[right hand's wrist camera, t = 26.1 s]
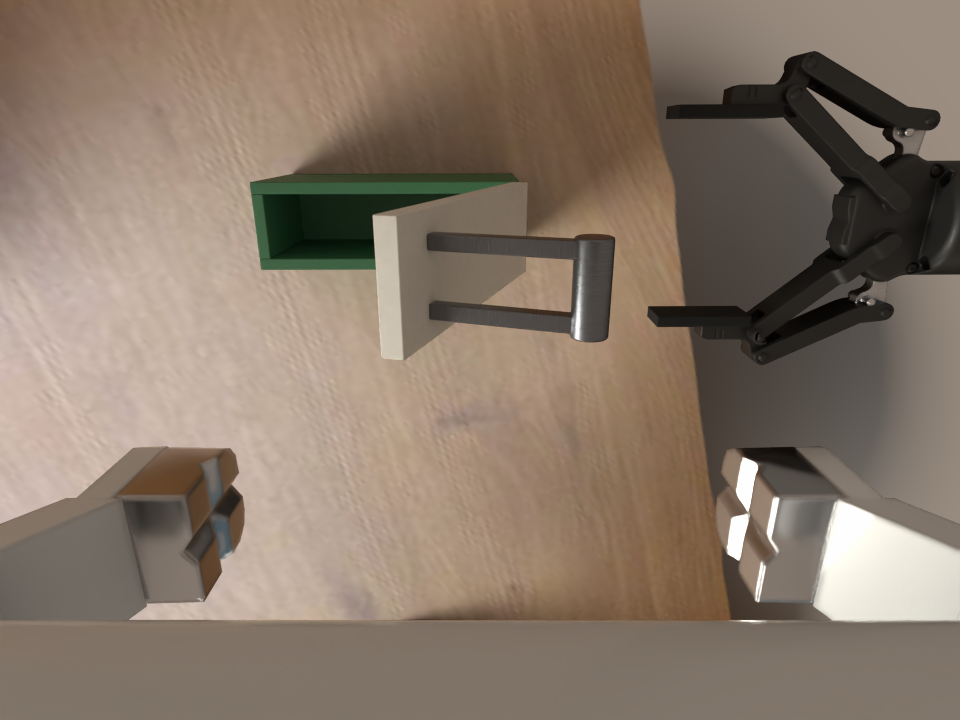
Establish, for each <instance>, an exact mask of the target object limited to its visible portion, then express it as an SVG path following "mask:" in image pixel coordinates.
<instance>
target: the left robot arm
mask: <svg viewBox="0 0 960 720" xmlns="http://www.w3.org/2000/svg"><path fill="white" fill-rule="evenodd" d="M807 87H808V88H809V89H811V90H813V91H814V92H816V93H818V94H819V95H821V96H823V97H824V98H826V99H828V100H829V101H831V102H833V103H834V104H836V105H838V106H839V107H841V108H843V109H845V110H846V111H848V112H850V113H851V114H853V115H855V116H856V117H858V118H860V119H861V120H863V121H865V122H866V123H868V124H870V125H872V126H875V127H879V128H884V130H883V136H884V137H885V139H886V140H887V141H889V142H891V143H893V144H894V147H895V152H894V154H891V155H889V156H887V157H885V158H884V159H883V160H881V161H879V162H878V161H877V160H876V159H875V158H873V157H871V156H869V155H867V154H866V153H865V152H864V151H863V150H862V149H861V148H860V147H859V146H858V144H857V143H856V142H855V141H854V140H853V139H852V138H851V137H850V136H849V135H848V134H847V132H846V131H845V130H844V129H843V128H842V127H841V126H840V125H839V124H838V123H837V122H836V121H835V119H834V118H833V117H832V116H831V115H830V114H829V113H828V112H827V111H826V110H825V109H824V107H823V106H822V105H821V104H820V103H819V102H818V101H817V100H816V99H815V98H814V97H813V95H812V94H811V93H810V92H809V91H808V90H807V89H806V88H807ZM779 117H784V118H785V119H786V120H787V122H788V123H789V124H790V125H791V126H792V127H793V128H794V129H795V130H796V131H797V132H798V133H799V134H800V135H801V136H802V137H803V138H804V140H805V141H806V142H807V143H808V144H809V145H810V146H811V147H812V148H813V149H814V150H815V151H816V152H817V153H818V154H819V155H820V156H821V157H822V159H823V160H824V161H825V162H826V163H827V164H828V165H829V166H830V167H831V172H832V173H833V174H834V175H835V176H836V177H837V178H838V179H839V180H840V181H841V182H842V184H843V185H844V186H843V187H842V189H841V190H840V192H839V194H835V195H834V199H833V204H832V210H833V219H832V221H831V223H830V225H829V227H828V230H827V235H826V240H828V241H829V244H830V248H829V249H827V250H826V251H825V252H823V253H822V254H820V255H819V256H818V257H816V258H815V259H814V261H813V264H812V265H811V266H810V267H808V268H807V269H806V270H804V271H803V272H801V273H800V274H799V275H797V276H796V277H794V278H793V279H792V280H790V281H789V282H788V283H786V284H785V285H783V286H782V287H781V288H779V289H778V290H777V291H775V292H774V293H773V294H771V295H770V296H768V297H767V298H766V299H764V300H763V301H762V302H760V303H759V304H757V305H756V306H755V307H753V308H752V309H751V310H749V311H748V312H745V311H743V310H742V309H740V308H739V307H737V306H648V315H647V316H648V317H649V318H650V320H651V321H652V322H653V323H654V324H655V325H656V326H657V327H695V328H694V331H695V332H696V333H697V334H698V335H699V336H700V337H703V338H705V339H741V341H742V345H741V350H742V351H743V353H745V354H746V355H747V356H748V357H750V358H751V359H752V360H753V361H755V362H756V363H757V364H759V365H764V364H767V363H769V362H771V361H774V360H776V359H778V358H781V357H783V356H785V355H787V354H790V353H792V352H794V351H797V350H799V349H801V348H804V347H806V346H808V345H810V344H813V343H815V342H817V341H820V340H822V339H824V338H826V337H829V336H831V335H833V334H836V333H838V332H840V331H842V330H845V329H847V328H849V327H852V326H854V325H856V324H859V323H863V322H873V321H882V320H887V319H889V318H890V317H891V316H892V315H893V312H894V308H893V306H892V305H890V304H888V303H886V295H887V286H888V281H889V280H891V279H893V278H895V277H898V276H901V275H935V274H936V275H937V274H960V161H926V160H924V159H922V158H921V157H919V156H918V153H919V150H920V147H921V144H922V141H923V138H924V135H925V132H926V130H932V129H934V128H935V127H936V126H937V125H938V124H939V122H940V114H939V112H938V111H936V110H930V109H922V108H914V107H908V106H906V105H904V104H903V103H901V102H899V101H898V100H896V99H894V98H893V97H891V96H890V95H888V94H886V93H885V92H883V91H881V90H880V89H878V88H876V87H875V86H873V85H871V84H870V83H868V82H867V81H865V80H863V79H862V78H860V77H858V76H857V75H855V74H853V73H852V72H850V71H848V70H847V69H845V68H844V67H842V66H840V65H839V64H837V63H835V62H834V61H832V60H830V59H829V58H827V57H825V56H824V55H822V54H821V53H819V52H816V51H813V52H808V53H804V54H801V55H797V56H793V57H791V58H789V59H788V60H787V61H786V62H785V65H784V73H783V75H782V77H781V79H780V80H779V81H778V83H776V84H775V85H737V86H733V87H730V88H727V89H725V90H724V95H723V103H722V104H721V105H720V104H718V105H717V104H716V105H675V106H669V107H667V114H666V119H751V118H752V119H755V118H779ZM843 260H844V261H843ZM842 261H843V262H842ZM858 275H862V276H863V277H865V278H866V282H865V284H864V285H863V286H862V287H861V288H858V289H855V290H852V291H850V292H849V293H848V297H846V298H841V299H838V300H835V301H832V302H829V303H827V304H825V305H823V306H820V307H818V308H816V309H814V310H811V311H809V312H807V313H805V314H803V315H800V316H798V317H796V318H794V319H792V318H793V317H794V316H796V315H797V314H799V313H800V312H801V311H803V310H804V309H806V308H807V307H808V306H810V305H811V304H813V303H814V302H815V301H817V300H818V299H820V298H821V297H822V296H824V295H825V294H827V293H828V292H829V291H831V290H832V289H834V288H835V287H836V286H838V285H840V284H844V283H847V282H850V281H851V280H853V279H854V278H856V277H857V276H858ZM790 319H791V320H790Z"/></svg>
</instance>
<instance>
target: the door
mask: <svg viewBox="0 0 960 720" xmlns="http://www.w3.org/2000/svg"><path fill="white" fill-rule="evenodd" d="M527 190H528V183H527V182H511V183H507V184H502V185H498V186H494V187H490V188H485V189H481V190H477V191H472V192H468V193H464V194H460V195H455V196H451V197H447V198H442V199H438V200H434V201H430V202H425V203H421V204H417V205H412V206H408V207H404V208H400V209H395V210H391V211H387V212H382V213H378V214H374V215H373V229H374V245H375V260H376V276H377V292H378V308H379V324H380V340H381V356H382V358H387V359H395V360H403V361H404V360H405V359H407V358H408V357H409V356H411V355H412V354H413V353H415V352H416V351H418V350H419V349H420V348H422V347H423V346H424V345H426V344H427V343H428V342H430V341H431V340H433V339H434V338H435V337H437V336H438V335H439V334H441V333H442V332H443V331H445V330H446V329H448V328H449V327H450V326H452V325H453V324H454V323H456V322H458V323H468V324H478V325H488V326H498V327H508V328H517V329H527V330H537V331H547V332H557V333H567V334H570V336H571V338H573V339H575V340H577V341H581V342H601V341H604V340H606V339H607V338H608V332H609V318H610V305H611V291H612V278H613V264H614V251H615V237H613V236H610V235H604V234H582V235H578V236H576V237H575V239H574V238H554V237H534V236H526V233H527ZM526 257H539V258H555V259H571V260H574V262H573V281H572V301H571V312H561V311H549V310H538V309H527V308H516V307H505V306H493V305H482V303H483V302H484V301H486V300H487V299H488V298H490V297H491V296H493V295H494V294H495V293H497V292H498V291H499V290H501V289H502V288H503V287H505V286H506V285H508V284H509V283H510V282H512V281H513V280H514V279H516V278H517V277H518V276H520V275H521V274H522V273H524V272H525V271H526Z"/></svg>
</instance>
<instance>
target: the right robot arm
mask: <svg viewBox="0 0 960 720" xmlns="http://www.w3.org/2000/svg"><path fill="white" fill-rule="evenodd" d="M238 473H239V470H238V465H237V460H236V455H235V454H234V453H233V451H232V450H231V449H230V448H187V447H170V448H169V447H167V446H165V447H139V448H133V449H132V450H130V451H129V452H128V453H127V454H126V455H125V456H124V457H123V458H121V459H120V460H119V461H118V462H117V463H116V464H115V465H113V466H112V467H111V468H110V469H109V470H108V471H107V472H105V473H104V474H103V475H102V476H101V477H100V478H99V479H98V480H96V481H95V482H94V483H93V484H92V485H91V486H90V487H88V488H87V489H86V490H85V491H84V492H83V493H82V494H80V495H79V496H78V497H77V498H65V499H63V500H60V501H58V502H55V503H53V504H50V505H48V506H45V507H42V508H40V509H37V510H35V511H32V512H30V513H27V514H25V515H22V516H19V517H17V518H14V519H12V520H9V521H7V522H4V523H2V524H0V720H960V524H958V523H956V522H953V521H951V520H948V519H945V518H943V517H940V516H938V515H935V514H933V513H930V512H928V511H925V510H923V509H920V508H917V507H915V506H912V505H910V504H907V503H905V502H902V501H900V500H897V499H895V498H883V497H882V496H881V495H880V494H878V493H877V492H876V491H875V490H874V489H873V488H872V487H870V486H869V485H868V484H867V483H866V482H865V481H864V480H863V479H861V478H860V477H859V476H858V475H857V474H856V473H855V472H853V471H852V470H851V469H850V468H849V467H848V466H847V465H846V464H844V463H843V462H842V461H841V460H840V459H839V458H838V457H836V456H835V455H834V454H833V453H832V452H831V451H830V450H829V449H827V448H823V447H820V446H817V447H770V448H734V449H729V450H727V452H726V454H725V457H724V459H723V464H722V470H721V473H722V475H723V476H724V478H725V480H726V481H727V483H728V484H729V485H728V486H727V487H726V488H725V489H724V490H723V491H722V492H721V493H720V494H719V495H718V496H717V503H716V512H715V517H716V527H717V533H718V536H719V539H720V542H721V544H722V546H723V547H724V549H725V551H726V553H728V554H729V555H731V556H732V557H734V558H736V559H737V560H739V561H740V563H739V568H738V573H739V574H740V576H741V578H742V579H743V581H744V583H745V584H746V586H747V588H748V589H749V591H750V593H751V594H752V596H753V598H754V599H755V601H756V602H778V603H813V606H814V607H815V608H816V609H818V610H819V611H821V612H822V613H823V614H825V615H826V616H827V617H829V618H830V619H831V620H129V619H130V618H131V617H133V616H134V615H136V614H137V613H138V612H140V611H141V610H142V609H144V608H145V607H146V606H147V604H146V603H182V602H204V601H205V599H206V598H207V596H208V594H209V593H210V591H211V589H212V588H213V586H214V584H215V583H216V581H217V579H218V578H219V576H220V575H221V573H222V568H221V562H220V561H221V560H223V559H224V558H226V557H228V556H229V555H231V554H232V553H234V551H235V549H236V547H237V545H238V544H239V542H240V539H241V535H242V531H243V527H244V510H245V509H244V502H243V496H242V495H241V494H240V493H239V492H238V491H237V490H236V489H235V488H234V487H233V486H232V485H231V484H232V483H233V481H234V480H235V478H236V477H237V475H238Z"/></svg>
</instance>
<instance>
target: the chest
mask: <svg viewBox="0 0 960 720" xmlns="http://www.w3.org/2000/svg"><path fill="white" fill-rule="evenodd" d="M511 182H519V181H518V180H517V179H516V177H515V176H514V175H513V174H290V175H285V176H280V177H275V178H270V179H265V180H260V181H255V182H250V188H251V194H252V202H253V210H254V218H255V226H256V233H257V241H258V249H259V257H260V264H261V270H350V269H376V260H375V245H374V229H373V215H374V214H378V213H382V212H387V211H391V210H395V209H400V208H404V207H408V206H412V205H417V204H421V203H425V202H430V201H434V200H438V199H442V198H447V197H451V196H455V195H460V194H464V193H468V192H472V191H477V190H481V189H485V188H490V187H494V186H498V185H502V184H507V183H511Z"/></svg>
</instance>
